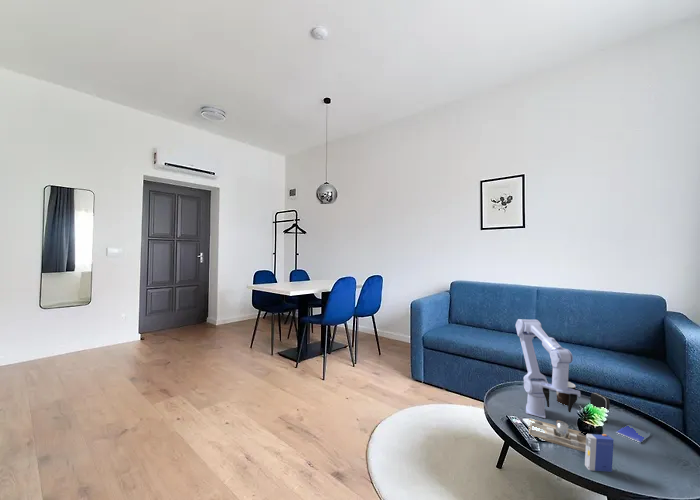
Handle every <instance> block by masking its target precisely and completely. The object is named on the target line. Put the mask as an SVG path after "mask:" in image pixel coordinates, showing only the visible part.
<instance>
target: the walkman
mask: <svg viewBox="0 0 700 500" xmlns="http://www.w3.org/2000/svg"><path fill="white" fill-rule="evenodd" d="M614 440H615V439H614V438H612V437H611V436H609V435H608V434H606V433H602V434H597V433H596V434H595V433H587V434H586V451H585V452H584V453H585V454H584V455H585V456H584V466H585V467H586V469H587V470H588V471H594V472H610V473H612V472H613V459H614V458H613V455H614V442H615V441H614Z"/></svg>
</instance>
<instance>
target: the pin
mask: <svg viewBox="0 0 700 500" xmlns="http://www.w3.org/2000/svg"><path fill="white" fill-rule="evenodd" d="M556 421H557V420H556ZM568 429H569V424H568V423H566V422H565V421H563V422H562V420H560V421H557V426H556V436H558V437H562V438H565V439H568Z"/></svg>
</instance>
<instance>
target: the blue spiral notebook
mask: <svg viewBox="0 0 700 500" xmlns="http://www.w3.org/2000/svg"><path fill="white" fill-rule="evenodd" d="M623 427H624V426H623ZM623 427H621V428H620V429H619V430H617V431H615V433H618V434H621V435H623V436H626V437H628V438H630V439H632V440H635V441H637V442H642V441H643V439H644V437H642V436H640V435H638V433H636V431H635V430H634V429H633V428H630V427H629V426H626V427H624V428H623ZM618 434H617V435H618ZM623 436H622V437H623ZM630 439H629V440H630ZM632 440H631V441H632ZM637 442H636V443H637Z"/></svg>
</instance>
